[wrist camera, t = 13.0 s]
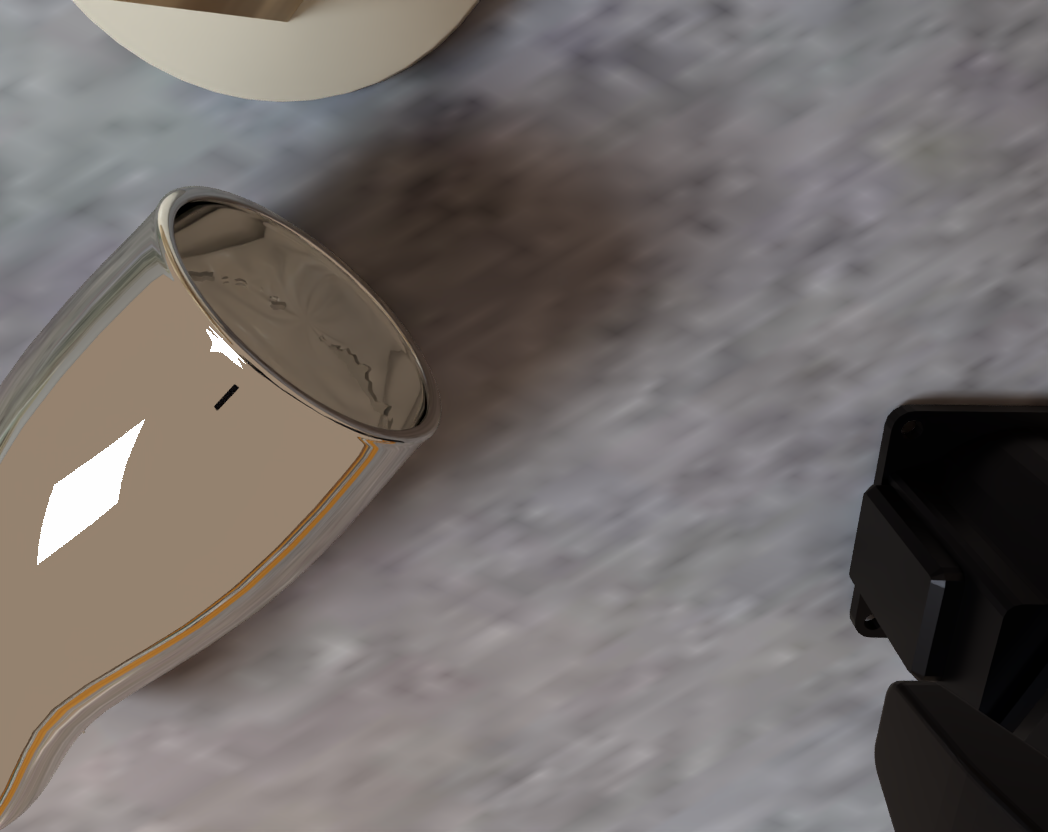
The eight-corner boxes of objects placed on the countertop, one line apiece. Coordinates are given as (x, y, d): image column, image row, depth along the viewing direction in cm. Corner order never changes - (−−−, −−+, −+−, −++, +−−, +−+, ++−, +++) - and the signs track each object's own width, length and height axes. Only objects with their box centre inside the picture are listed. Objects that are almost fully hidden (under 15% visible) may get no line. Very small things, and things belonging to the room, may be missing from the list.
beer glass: (-275, 892, 17) (182, 371, 12) (-230, 591, 21) (123, 118, 16) (82, 861, 22) (497, 489, 17) (61, 625, 26) (390, 274, 21)
